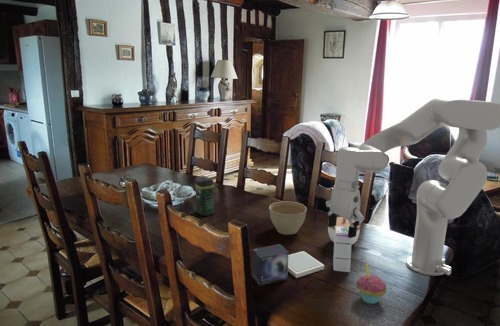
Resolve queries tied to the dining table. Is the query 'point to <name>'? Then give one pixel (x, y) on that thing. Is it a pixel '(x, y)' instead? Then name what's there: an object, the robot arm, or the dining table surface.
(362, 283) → the cupcake
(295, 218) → the planter bowl
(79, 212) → the dining table surface
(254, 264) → the small box
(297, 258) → the plate
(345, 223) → the lidded bowl
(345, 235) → the syrup box
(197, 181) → the coffee jar
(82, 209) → the dining table surface
